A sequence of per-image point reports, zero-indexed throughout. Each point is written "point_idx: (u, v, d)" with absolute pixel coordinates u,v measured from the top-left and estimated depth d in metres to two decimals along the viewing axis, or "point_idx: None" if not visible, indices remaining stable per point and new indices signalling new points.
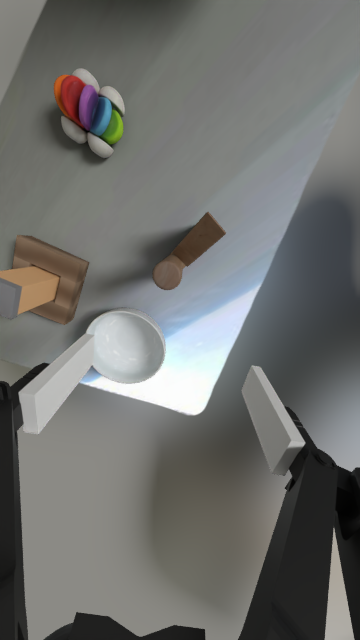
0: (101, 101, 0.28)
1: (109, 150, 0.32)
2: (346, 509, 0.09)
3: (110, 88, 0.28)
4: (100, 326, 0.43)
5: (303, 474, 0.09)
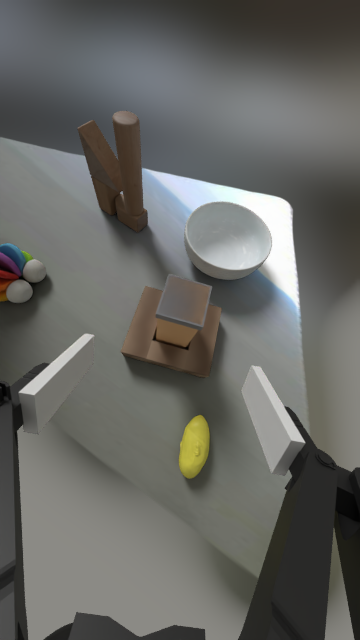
0: None
1: (39, 261, 0.34)
2: (347, 509, 0.09)
3: None
4: None
5: (303, 474, 0.09)
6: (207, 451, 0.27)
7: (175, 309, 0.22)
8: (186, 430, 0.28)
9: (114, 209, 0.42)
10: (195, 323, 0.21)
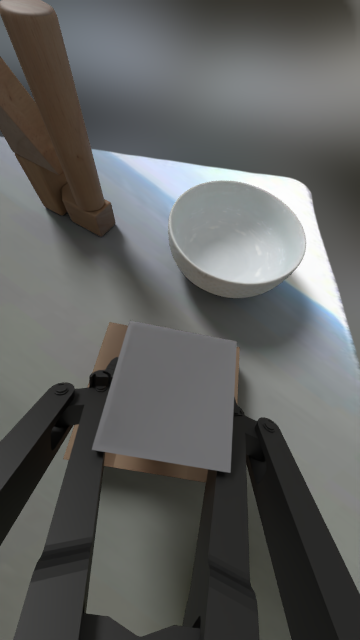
0: None
1: None
2: (250, 450, 0.11)
3: None
4: None
5: None
6: None
7: (149, 423, 0.08)
8: None
9: (64, 206, 0.29)
10: (207, 463, 0.08)
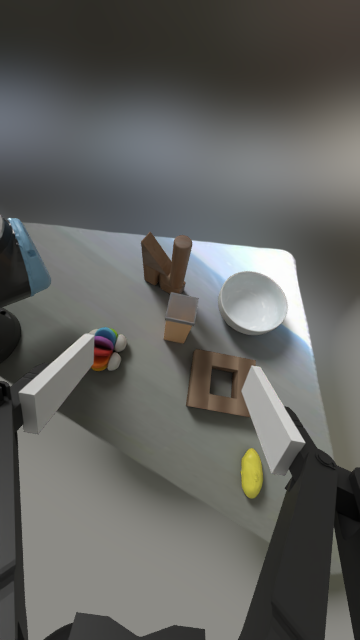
0: None
1: (122, 335, 0.44)
2: (347, 509, 0.09)
3: None
4: None
5: (303, 474, 0.09)
6: (262, 476, 0.37)
7: (177, 313, 0.35)
8: (244, 462, 0.38)
9: (157, 281, 0.53)
10: (189, 321, 0.35)
